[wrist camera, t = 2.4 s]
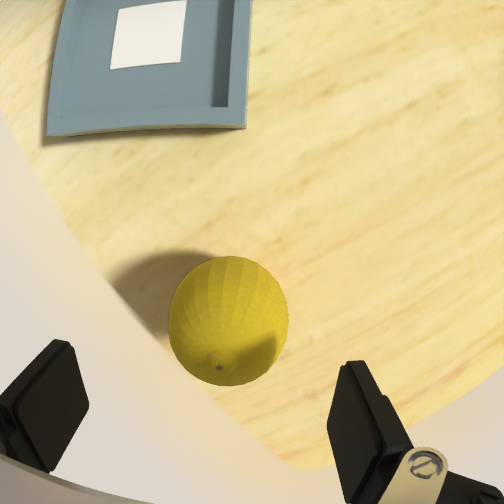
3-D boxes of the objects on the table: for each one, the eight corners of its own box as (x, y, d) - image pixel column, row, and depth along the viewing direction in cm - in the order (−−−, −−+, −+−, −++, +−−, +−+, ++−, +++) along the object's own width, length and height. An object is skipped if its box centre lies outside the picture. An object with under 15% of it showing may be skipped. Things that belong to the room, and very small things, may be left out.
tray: (88, -14, 13) (73, -27, 11) (254, -35, 13) (254, -54, 11) (66, 136, 16) (46, 135, 14) (245, 128, 16) (244, 124, 14)
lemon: (240, 219, 18) (227, 266, 10) (300, 292, 19) (326, 376, 11) (168, 278, 19) (118, 352, 11) (229, 342, 20) (216, 436, 12)
